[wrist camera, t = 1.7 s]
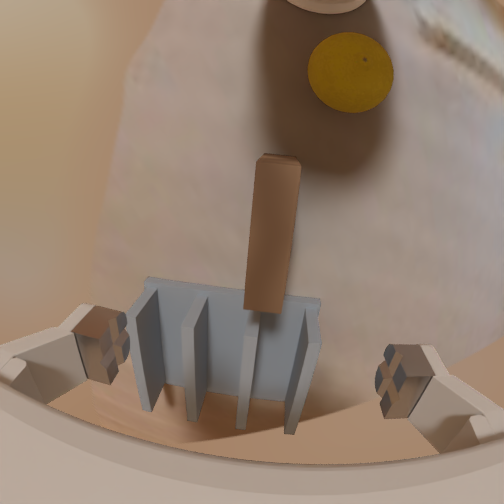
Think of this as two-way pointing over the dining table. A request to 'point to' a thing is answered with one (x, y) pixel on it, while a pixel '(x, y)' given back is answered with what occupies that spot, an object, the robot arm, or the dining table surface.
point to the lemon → (350, 72)
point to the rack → (222, 347)
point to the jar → (328, 5)
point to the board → (271, 231)
